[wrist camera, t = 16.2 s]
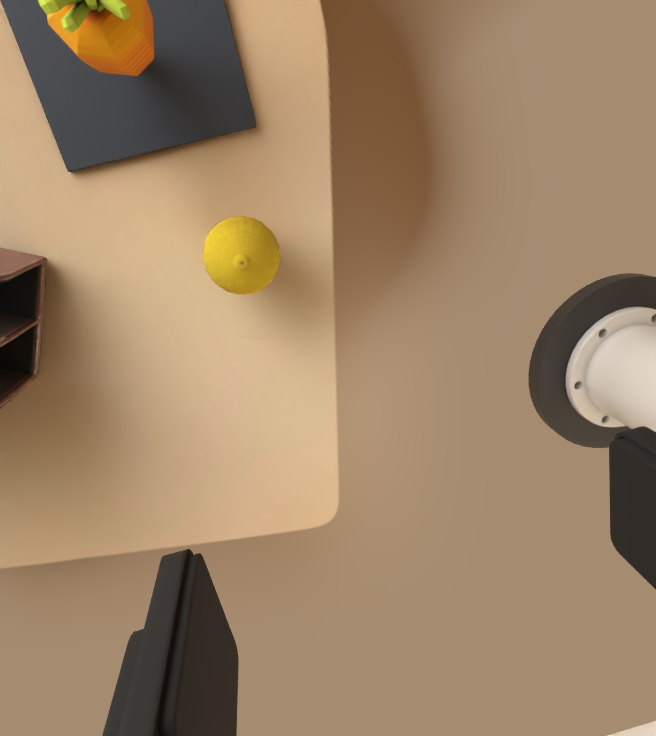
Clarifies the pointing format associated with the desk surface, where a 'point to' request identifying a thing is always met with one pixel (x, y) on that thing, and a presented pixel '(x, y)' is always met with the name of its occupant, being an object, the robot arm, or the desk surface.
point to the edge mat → (138, 85)
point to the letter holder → (20, 320)
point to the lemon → (241, 255)
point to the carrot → (105, 32)
